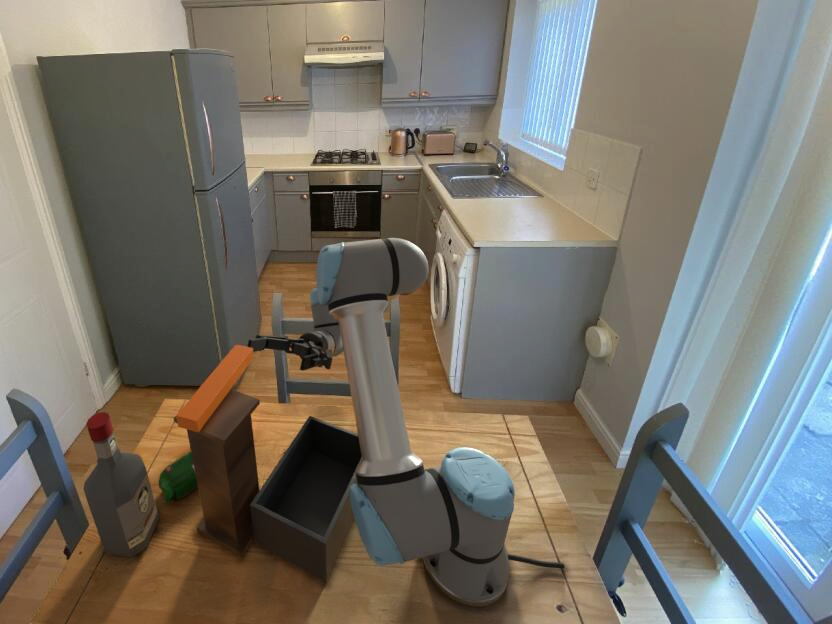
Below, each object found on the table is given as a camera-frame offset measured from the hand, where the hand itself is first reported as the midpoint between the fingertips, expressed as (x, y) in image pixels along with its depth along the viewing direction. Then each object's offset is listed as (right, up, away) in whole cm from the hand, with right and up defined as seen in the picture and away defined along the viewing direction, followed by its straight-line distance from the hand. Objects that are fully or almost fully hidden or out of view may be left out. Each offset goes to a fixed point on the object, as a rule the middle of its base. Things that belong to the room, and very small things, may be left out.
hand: (274, 354), depth 90 cm
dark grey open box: (+9, -31, -2) cm, 33 cm away
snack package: (-18, -29, +5) cm, 35 cm away
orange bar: (-9, -3, -11) cm, 15 cm away
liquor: (-28, -34, -6) cm, 45 cm away
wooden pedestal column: (-8, -33, -4) cm, 34 cm away
